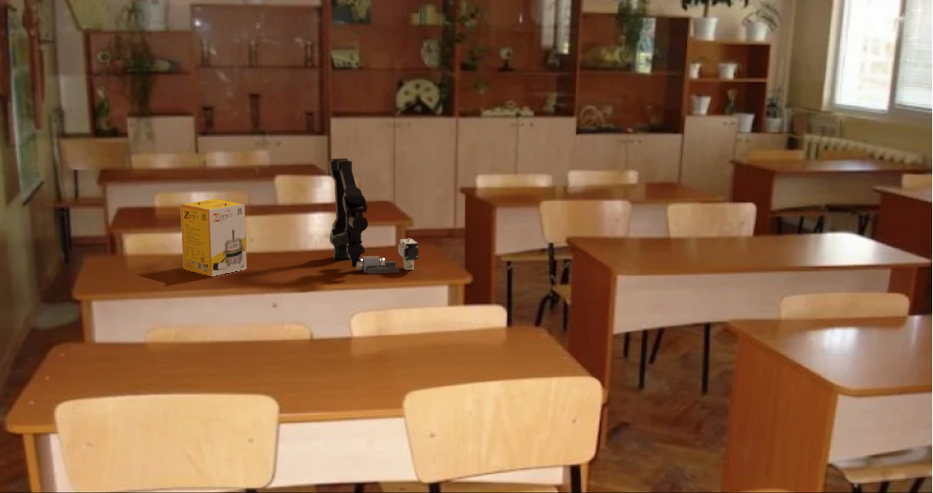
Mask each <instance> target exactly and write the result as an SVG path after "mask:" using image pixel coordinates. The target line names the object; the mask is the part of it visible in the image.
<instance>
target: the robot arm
mask: <svg viewBox="0 0 933 493" xmlns="http://www.w3.org/2000/svg"><path fill="white" fill-rule="evenodd" d="M327 167H328V171H329V175H330V177H331V178H332V179H333V181H334V197H335V199H334V200H335V203H334V204H335V220H333V223H332V225H331V228H332V229H331V230H330V234H329V237H328V238H329V243H330V244H331V245H333V250H334V251H333V254H332V258H333V260H335V261H337V260H350V263H351V267H352V268H356V267H357V262H358V260H359V259H360V258H361V255H362V254H363V255H364V254H365V253H366V252H365V246H364V245H363V240H362V233H363V232H364V231H365V230H367V229H368V226H369V221H368V220H367V218H366V217H365V216H364V214H363V213H365V214H367V212H368V205H367V200H366V198H365V196H364V195H363V192H362V190H361V189H360V188H359V187H357V184H356V180H355V177H354V173H353V160H349V159H348V158H346V157H345V158H344V157H343V158H341V157H339V158H331V159H330V161H328V162H327Z"/></svg>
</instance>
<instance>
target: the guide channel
mask: <svg viewBox="0 0 933 493" xmlns="http://www.w3.org/2000/svg"><path fill="white" fill-rule="evenodd" d="M396 264H397V263H396V261H395V260H394V261H385V267H374V268H367V272H366V274H367V275H368V274H369V275H373V274H391V273H393V274H394V273H395V274H396V273H397V274H398V273H400V266H396Z"/></svg>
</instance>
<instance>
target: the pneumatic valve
mask: <svg viewBox="0 0 933 493" xmlns="http://www.w3.org/2000/svg"><path fill="white" fill-rule="evenodd" d="M397 252H398V253H399V256H400V257H402V258H403V260H402V262H403V266H402V268H403V269H404V270H405V271H409V270H412V271H413V270H414V269H415V267H414V265H415V264H414V263H415V261H417V260H419V254H420V251H419V243H418V242H417V241H415V240H414V239H413V238H409V237H408V238H399V243H398V244H397ZM414 260H415V261H414Z"/></svg>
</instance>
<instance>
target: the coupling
mask: <svg viewBox="0 0 933 493" xmlns="http://www.w3.org/2000/svg"><path fill="white" fill-rule="evenodd" d="M385 262H386V258H385V257H380V256H379V255H366V256H365V255H363V256H362V258H359V260H358V262H357V264H356V266H357V271H363V273H367V268H374V267H385Z"/></svg>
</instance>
